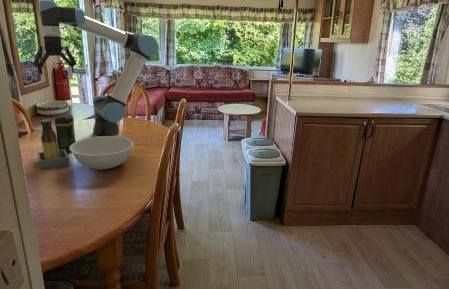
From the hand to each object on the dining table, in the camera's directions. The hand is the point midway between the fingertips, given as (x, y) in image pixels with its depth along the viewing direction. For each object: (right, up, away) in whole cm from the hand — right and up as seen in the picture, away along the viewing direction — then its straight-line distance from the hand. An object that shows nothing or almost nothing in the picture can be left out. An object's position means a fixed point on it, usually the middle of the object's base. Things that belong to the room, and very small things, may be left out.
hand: (57, 80), depth 158 cm
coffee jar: (+3, -36, +4) cm, 36 cm away
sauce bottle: (+5, -41, -14) cm, 43 cm away
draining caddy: (+5, -41, -13) cm, 44 cm away
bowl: (+29, -42, -13) cm, 53 cm away
